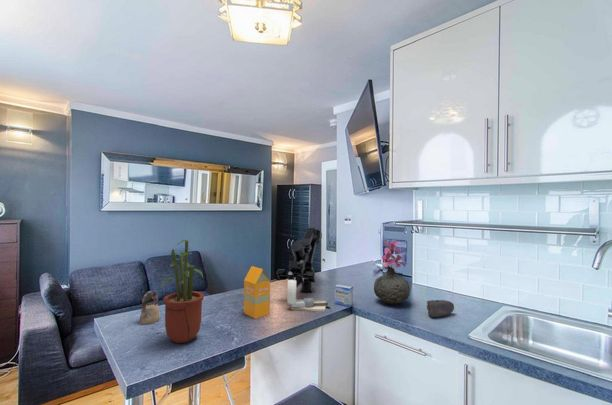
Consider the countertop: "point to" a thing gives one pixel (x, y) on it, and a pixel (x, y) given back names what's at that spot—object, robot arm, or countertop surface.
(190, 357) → the countertop surface
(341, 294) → the medicine box
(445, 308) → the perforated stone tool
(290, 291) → the crank handle
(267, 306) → the orange juice
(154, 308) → the figurine
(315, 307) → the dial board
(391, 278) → the vase
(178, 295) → the potted plant
